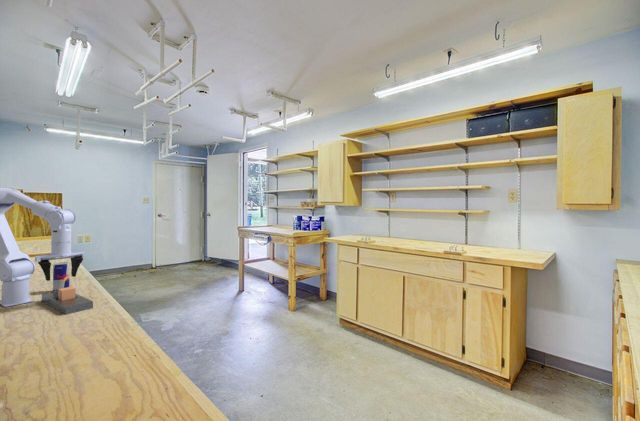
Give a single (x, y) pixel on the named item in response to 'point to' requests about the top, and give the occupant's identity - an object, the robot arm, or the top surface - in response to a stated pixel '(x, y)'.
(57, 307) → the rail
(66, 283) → the energy drink
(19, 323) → the top surface
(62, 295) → the square block
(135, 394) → the top surface
